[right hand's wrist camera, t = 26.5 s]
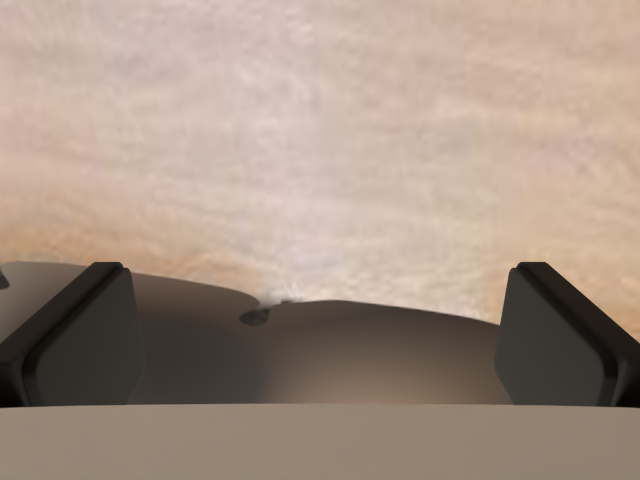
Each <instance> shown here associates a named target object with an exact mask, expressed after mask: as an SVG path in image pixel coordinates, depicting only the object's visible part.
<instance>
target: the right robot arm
mask: <svg viewBox="0 0 640 480" xmlns="http://www.w3.org/2000/svg"><path fill="white" fill-rule="evenodd" d="M145 367H146V358H145V352H144V346H143V341H142V335H141V329H140V323H139V317H138V312H137V306H136V300H135V294H134V288H133V282H132V276H131V272H130V270H129V269H128V268H124V267H123V265H122V264H121V263H120V262H94V263H93V264H91V265H90V266H89V267H88V268H87V269H86V270H85V271H83V272H82V273H81V274H80V275H79V276H78V277H76V278H75V279H74V280H73V281H72V282H71V283H70V284H68V285H67V286H66V287H65V288H64V289H63V290H61V291H60V292H59V293H58V294H57V295H56V296H55V297H53V298H52V299H51V300H50V301H49V302H48V303H47V304H45V305H44V306H43V307H42V308H41V309H40V310H39V311H37V312H36V313H35V314H34V315H33V316H32V317H30V318H29V319H28V320H27V321H26V322H25V323H24V324H22V325H21V326H20V327H19V328H18V329H17V330H15V331H14V332H13V333H12V334H11V335H10V336H9V337H7V338H6V339H5V340H4V341H3V342H2V343H1V344H0V480H640V343H638V342H637V341H636V340H635V339H634V338H633V337H632V336H630V335H629V334H628V333H627V332H626V331H625V330H623V329H622V328H621V327H620V326H619V325H618V324H617V323H615V322H614V321H613V320H612V319H611V318H610V317H608V316H607V315H606V314H605V313H604V312H603V311H602V310H600V309H599V308H598V307H597V306H596V305H595V304H593V303H592V302H591V301H590V300H589V299H588V298H587V297H585V296H584V295H583V294H582V293H581V292H580V291H579V290H577V289H576V288H575V287H574V286H573V285H572V284H570V283H569V282H568V281H567V280H566V279H565V278H564V277H562V276H561V275H560V274H559V273H558V272H557V271H555V270H554V269H553V268H552V267H551V266H550V265H549V264H547V263H546V262H520V263H519V264H518V265H517V267H516V268H512V269H511V270H510V272H509V276H508V282H507V288H506V294H505V300H504V306H503V311H502V317H501V323H500V329H499V335H498V340H497V346H496V352H495V358H494V367H495V372H496V374H497V376H498V378H499V380H500V382H501V383H502V385H503V387H504V389H505V390H506V392H507V394H508V395H509V397H510V399H511V401H512V402H513V404H514V405H441V404H190V405H126V404H127V402H128V401H129V399H130V397H131V395H132V394H133V392H134V390H135V389H136V387H137V385H138V383H139V382H140V380H141V378H142V376H143V374H144V372H145Z"/></svg>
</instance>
